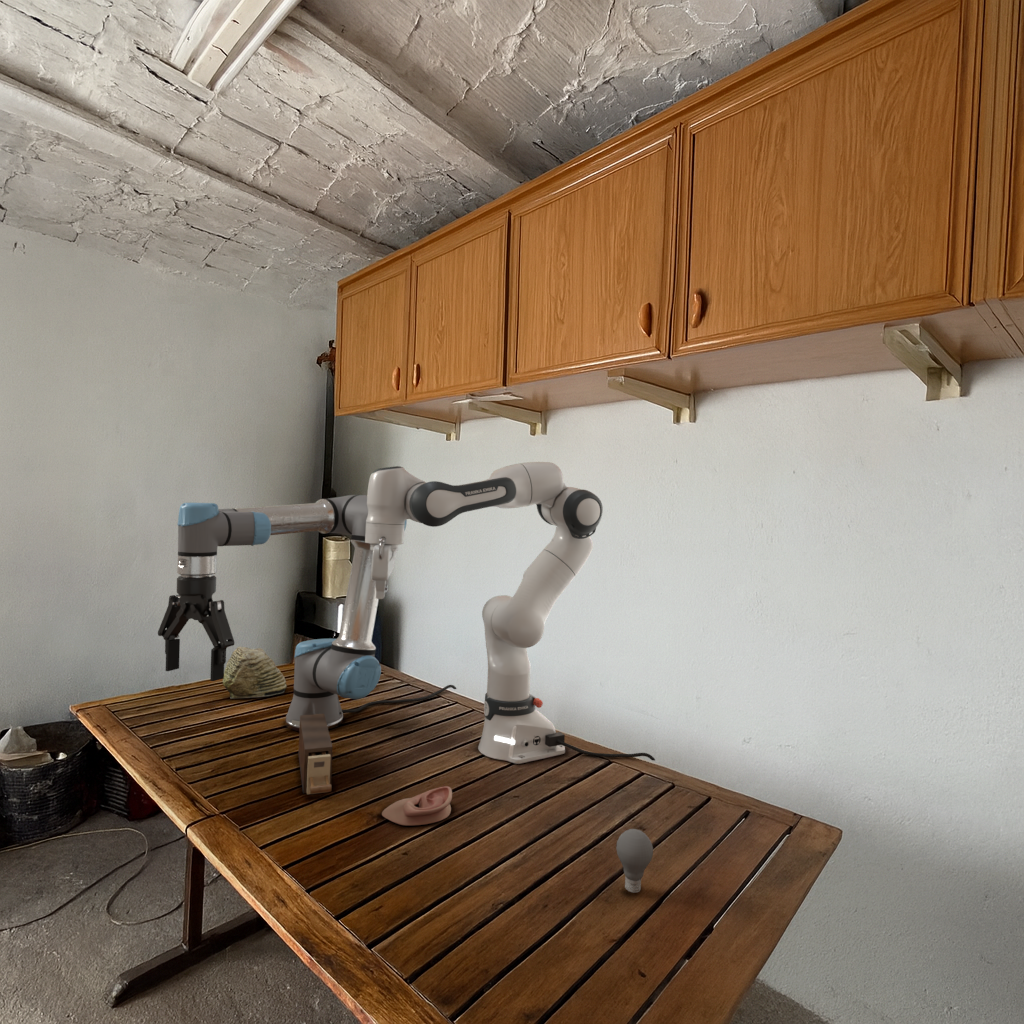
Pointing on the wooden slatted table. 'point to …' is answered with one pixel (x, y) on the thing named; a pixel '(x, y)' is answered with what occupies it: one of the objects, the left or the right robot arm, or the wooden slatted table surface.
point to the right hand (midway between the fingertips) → (381, 595)
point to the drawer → (318, 773)
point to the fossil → (252, 674)
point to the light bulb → (634, 857)
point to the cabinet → (312, 742)
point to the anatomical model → (421, 808)
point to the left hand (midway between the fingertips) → (194, 674)
